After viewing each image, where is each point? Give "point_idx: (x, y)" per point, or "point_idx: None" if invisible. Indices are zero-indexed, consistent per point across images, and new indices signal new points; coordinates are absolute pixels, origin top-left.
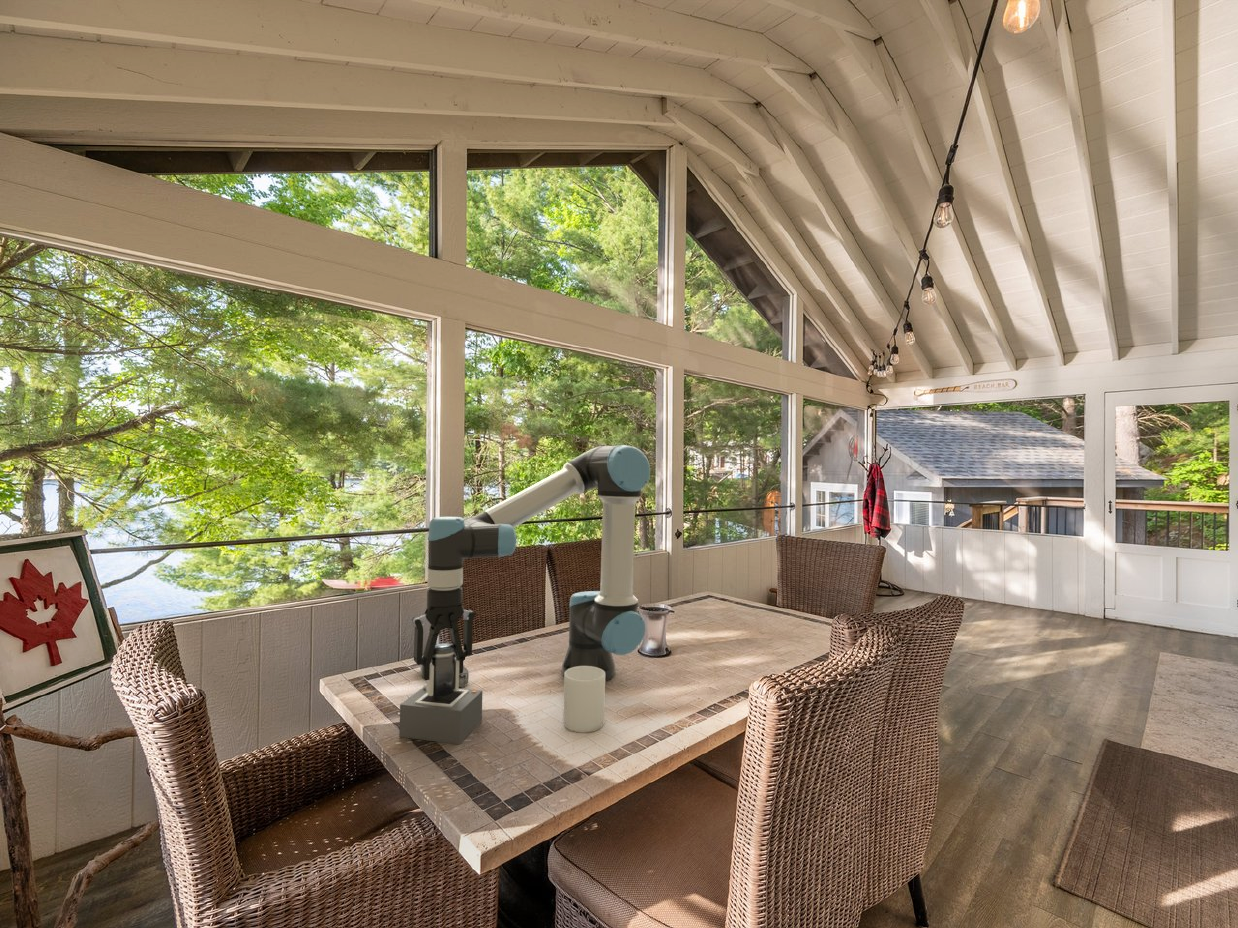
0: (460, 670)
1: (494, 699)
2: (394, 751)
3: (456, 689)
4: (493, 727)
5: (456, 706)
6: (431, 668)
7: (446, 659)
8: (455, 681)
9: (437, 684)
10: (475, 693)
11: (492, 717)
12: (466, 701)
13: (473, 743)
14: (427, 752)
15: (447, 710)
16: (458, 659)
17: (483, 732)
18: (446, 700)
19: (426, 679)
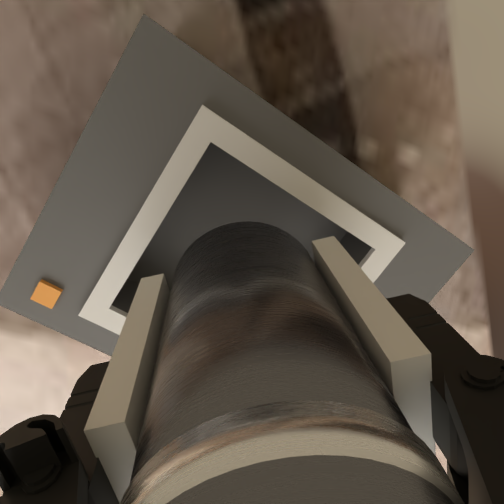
0: (100, 377)
1: (5, 409)
2: (435, 81)
3: (156, 277)
4: (4, 158)
5: (168, 110)
6: (405, 340)
7: (257, 389)
8: (157, 304)
9: (302, 260)
10: (39, 273)
11: (11, 256)
12: (99, 170)
13: (103, 24)
14: (313, 15)
15: (229, 76)
16: (93, 462)
17: (53, 123)
18: None
19: (398, 298)
